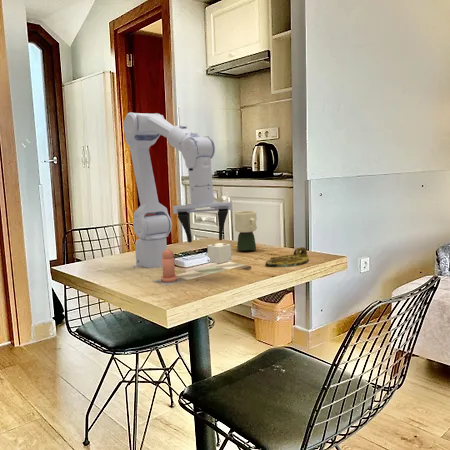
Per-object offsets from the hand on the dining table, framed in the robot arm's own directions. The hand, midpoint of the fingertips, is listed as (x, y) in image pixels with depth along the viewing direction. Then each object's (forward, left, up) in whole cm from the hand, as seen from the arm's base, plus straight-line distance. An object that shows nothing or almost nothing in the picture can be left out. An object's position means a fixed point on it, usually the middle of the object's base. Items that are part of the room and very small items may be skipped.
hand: (205, 240), depth 119 cm
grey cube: (-16, +19, -11) cm, 27 cm away
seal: (+2, +29, -11) cm, 31 cm away
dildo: (-6, -7, -10) cm, 14 cm away
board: (-6, +3, -11) cm, 12 cm away
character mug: (-20, +35, -11) cm, 42 cm away
